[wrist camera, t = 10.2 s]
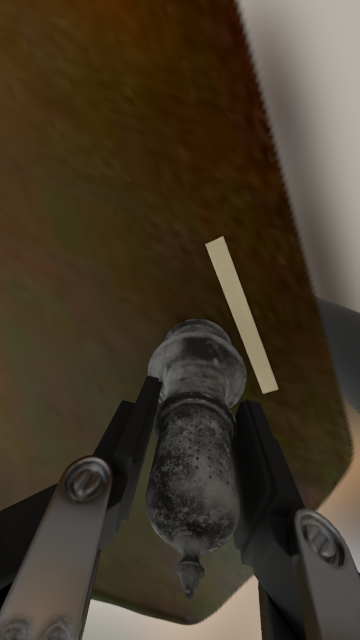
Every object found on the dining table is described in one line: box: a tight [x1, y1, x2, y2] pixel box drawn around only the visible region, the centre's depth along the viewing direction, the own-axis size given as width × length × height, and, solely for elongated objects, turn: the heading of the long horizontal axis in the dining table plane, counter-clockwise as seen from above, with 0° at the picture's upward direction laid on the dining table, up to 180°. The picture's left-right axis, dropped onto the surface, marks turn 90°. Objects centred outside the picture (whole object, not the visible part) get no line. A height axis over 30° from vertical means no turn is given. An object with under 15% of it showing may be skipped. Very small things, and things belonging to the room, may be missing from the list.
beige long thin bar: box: [205, 236, 278, 394], centre depth 15 cm, size 12×1×1 cm, turn 24°
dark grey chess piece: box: [146, 319, 246, 599], centre depth 10 cm, size 6×6×12 cm
